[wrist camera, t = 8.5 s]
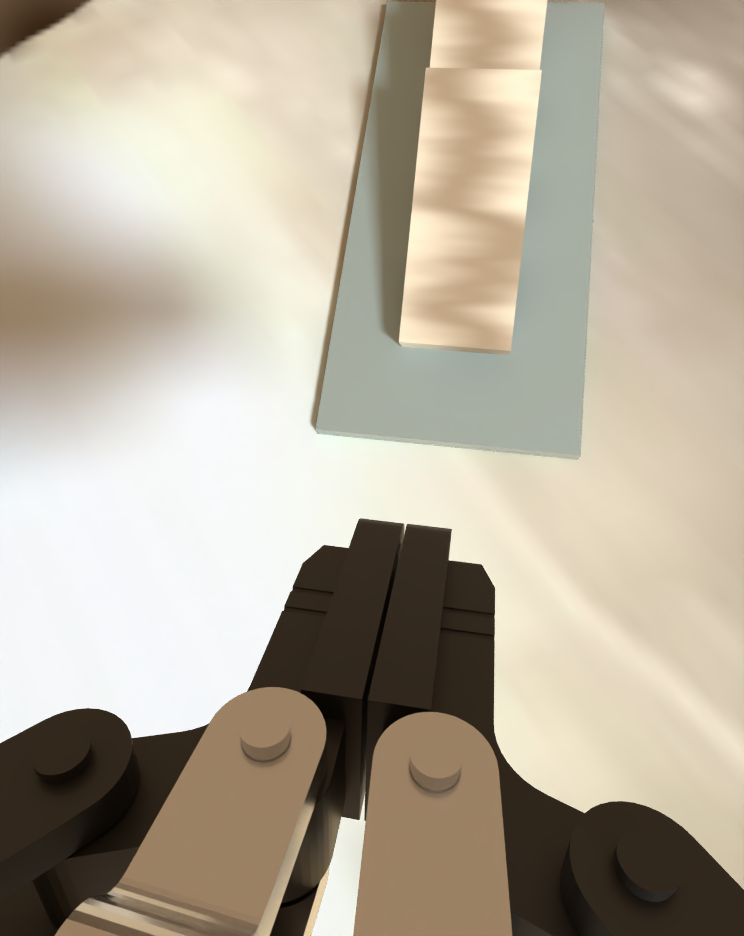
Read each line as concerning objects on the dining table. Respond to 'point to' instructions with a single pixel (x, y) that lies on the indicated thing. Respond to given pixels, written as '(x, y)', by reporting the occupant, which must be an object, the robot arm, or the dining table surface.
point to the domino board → (540, 279)
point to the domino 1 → (488, 34)
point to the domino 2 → (469, 209)
